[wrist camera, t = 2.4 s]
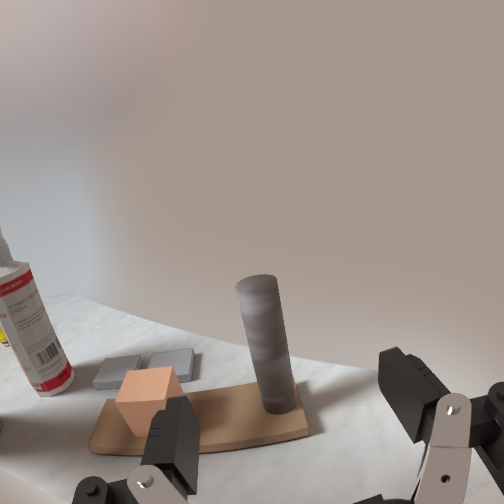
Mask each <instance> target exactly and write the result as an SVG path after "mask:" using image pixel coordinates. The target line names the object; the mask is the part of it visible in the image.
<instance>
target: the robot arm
mask: <svg viewBox="0 0 504 504" xmlns="http://www.w3.org/2000/svg"><path fill="white" fill-rule="evenodd" d="M378 383H379V387H380V390H381V392H382V394H383V396H384V397H385V399H386V400H387V402H388V403H389V405H390V406H391V408H392V410H393V411H394V413H395V414H396V416H397V418H398V419H399V421H400V422H401V424H402V425H403V427H404V429H405V430H406V432H407V433H408V435H409V437H410V438H411V440H412V442H413V443H414V444H415V443H417V442H419V441H421V440H423V441H424V443H425V444H426V445H425V448H424V451H423V455H422V459H421V463H420V467H419V470H418V474H417V477H416V480H415V484H414V487H413V489H412V492H411V495H410V497H409V500H405V499H387V500H384V499H383V497H382V495H381V494H379V495H377V496H374V497H371V498H368V499H365V500H362V501H359V502H356V503H353V504H463V501H464V496H465V491H466V486H467V480H468V474H469V468H470V461H471V453H472V450H471V448H473V447H474V449H475V450H476V452H477V453H478V455H479V456H480V458H481V459H482V461H483V463H484V464H485V466H486V467H487V469H488V471H489V472H490V474H491V475H492V477H493V479H494V480H495V482H496V484H497V485H498V487H499V489H500V490H501V492H502V494H503V495H504V382H498V383H496V384H494V385H493V386H492V387H491V388H490V389H489V392H488V395H485V396H482V397H477V398H473V399H468V398H467V397H466V396H464V395H462V394H459V393H451V392H450V391H449V390H448V389H447V388H446V387H445V386H444V385H443V384H442V382H441V381H440V380H439V379H438V378H437V377H436V376H435V374H434V373H432V371H431V370H430V369H429V368H428V367H427V366H426V365H425V364H424V362H423V361H422V360H421V359H420V358H417V357H416V356H413V355H411V354H409V355H406V356H405V355H404V354H403V352H402V351H401V350H400V349H399V348H398V347H394V348H391V349H388V350H385V351H382V352H380V354H379V371H378ZM0 428H1V421H0ZM149 429H150V430H149V432H148V438H147V440H146V444H145V448H144V452H143V457H142V461H141V465H140V466H139V467H137V468H135V469H134V470H132V471H131V473H130V474H129V475H128V478H127V479H124V480H120V481H116V482H111V483H106V482H105V481H104V480H103V479H102V478H100V477H96V476H91V477H87V478H85V479H83V480H82V481H81V482H80V483H79V484H78V485H77V488H76V491H75V495H74V498H73V502H72V504H189V503H188V502H187V496H188V495H197V478H198V461H199V445H200V426H199V422H198V419H197V417H196V415H195V413H194V410H193V408H192V406H191V404H190V401H189V399H188V397H187V396H177V397H169V398H168V399H167V402H166V407H165V410H158V411H157V413H156V414H155V415H154V417H153V418H152V420H151V424H150V428H149Z"/></svg>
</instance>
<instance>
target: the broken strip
mask: <svg viewBox="0 0 504 504" xmlns="http://www.w3.org/2000/svg"><path fill="white" fill-rule="evenodd" d="M194 357H195V353H194V351H193V348H188V349H181V350H174V351H167V352H160V353H153V354H152V356H151V359H150V362H149V365H148V368H147V369H151V368H160V367H168V366H173V368H174V371H175V373H176V376H177V378H178V381H179V383H181V382H189V381H191V379H192V372H193V364H194ZM142 363H143V361H142V358H141V356H140V355H136V356H127V357H117V358H107V359H105V360H104V362H103V364H102V365H101V367H100V369H99V371H98V373H97V375H96V376H95V378H94V380H93V382H92V383H93V385H94V387H95V389H113V388H121V385H122V383H123V381H124V378H125V376H126V374H127V371H132V370H140V368H141V365H142Z"/></svg>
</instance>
